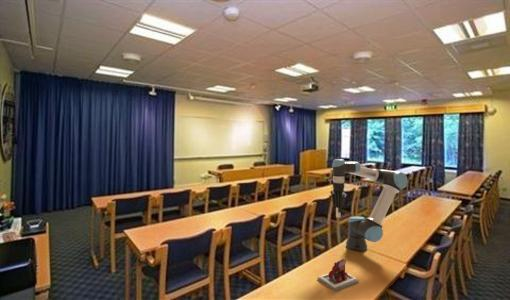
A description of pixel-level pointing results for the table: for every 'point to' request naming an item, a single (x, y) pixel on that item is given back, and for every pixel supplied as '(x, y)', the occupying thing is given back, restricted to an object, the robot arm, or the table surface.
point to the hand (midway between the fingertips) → (338, 216)
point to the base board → (336, 285)
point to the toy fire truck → (338, 271)
